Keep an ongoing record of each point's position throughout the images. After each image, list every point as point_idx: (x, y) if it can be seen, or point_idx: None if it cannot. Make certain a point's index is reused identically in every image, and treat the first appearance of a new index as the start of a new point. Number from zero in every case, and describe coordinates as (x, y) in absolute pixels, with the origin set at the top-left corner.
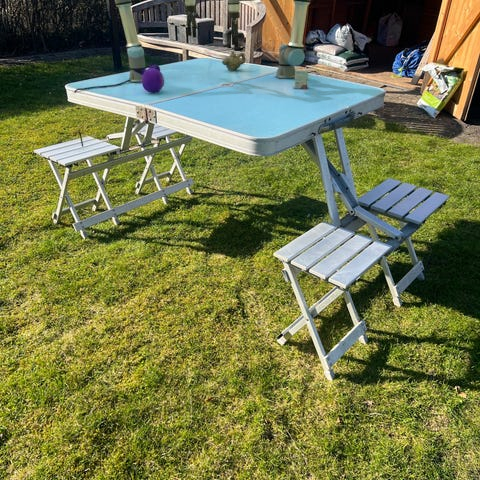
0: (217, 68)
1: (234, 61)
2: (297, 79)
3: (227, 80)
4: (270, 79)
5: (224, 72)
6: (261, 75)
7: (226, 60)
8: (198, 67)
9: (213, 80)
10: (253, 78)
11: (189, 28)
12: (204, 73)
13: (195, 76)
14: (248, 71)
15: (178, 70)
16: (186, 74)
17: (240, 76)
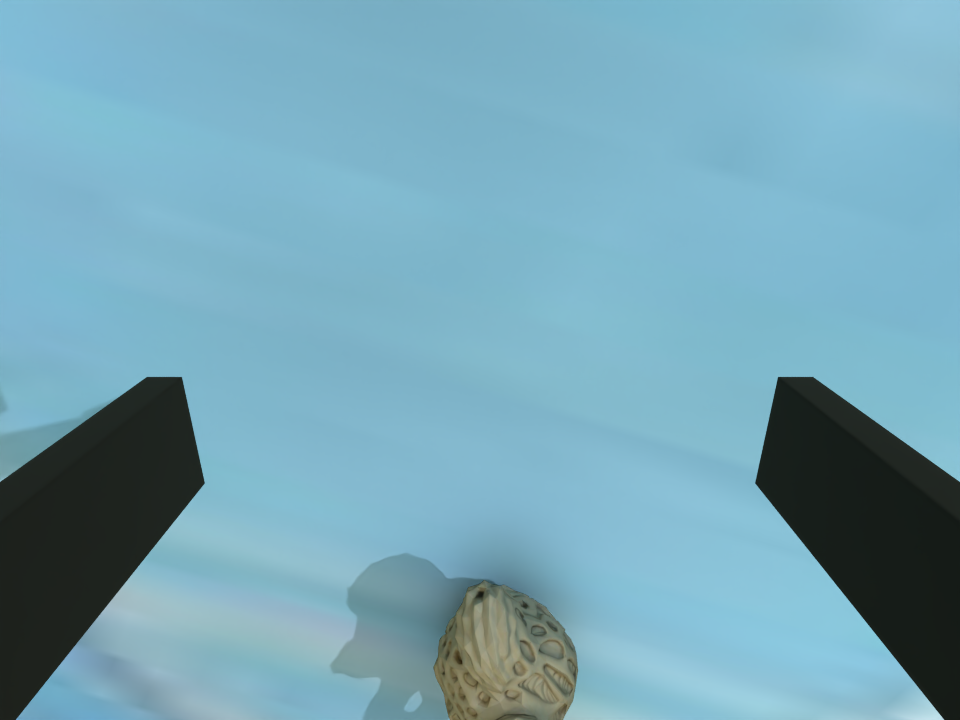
0: (691, 539)
1: (445, 689)
2: None
3: (49, 439)
4: (23, 710)
5: (454, 531)
6: (201, 712)
7: (458, 638)
8: (873, 400)
9: (79, 325)
10: (92, 634)
11: (943, 615)
12: (494, 355)
13: (364, 216)
14: (408, 693)
15: (854, 129)
16: (535, 151)
17: (209, 583)
